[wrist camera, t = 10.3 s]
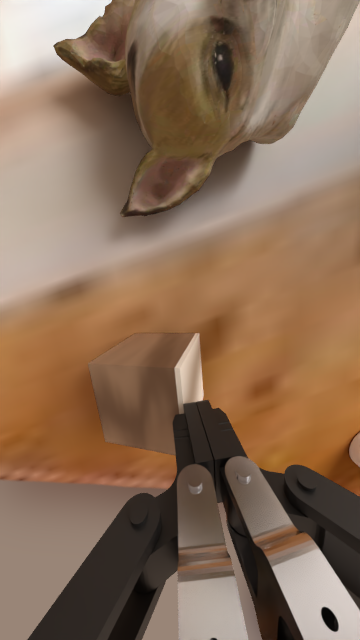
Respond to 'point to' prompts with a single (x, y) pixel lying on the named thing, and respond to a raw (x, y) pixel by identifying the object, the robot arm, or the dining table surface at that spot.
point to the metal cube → (146, 387)
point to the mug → (355, 450)
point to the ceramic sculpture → (206, 78)
